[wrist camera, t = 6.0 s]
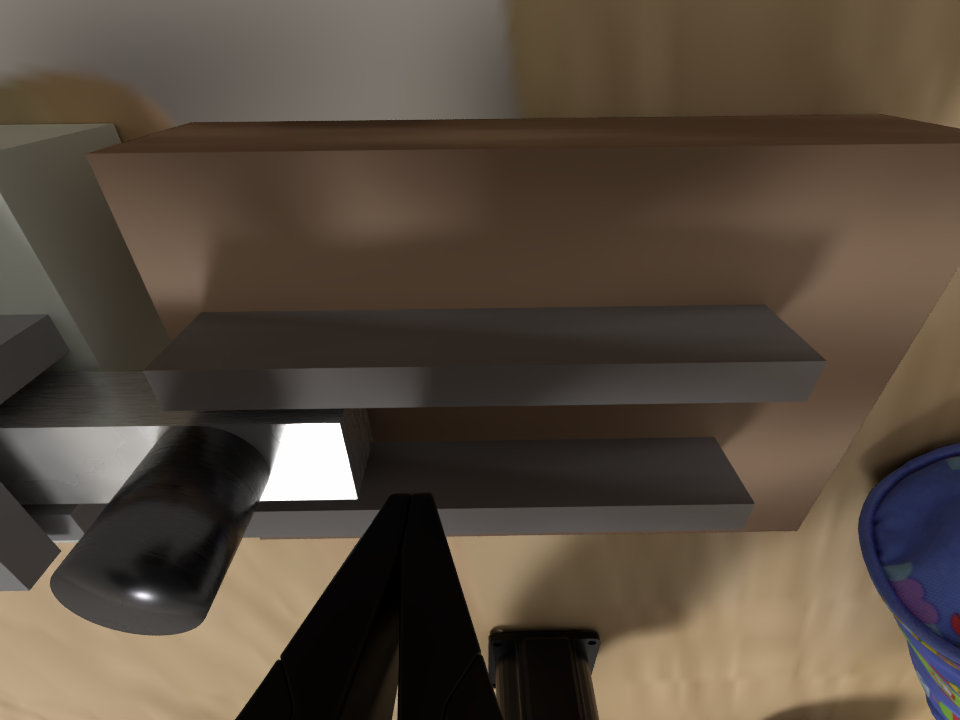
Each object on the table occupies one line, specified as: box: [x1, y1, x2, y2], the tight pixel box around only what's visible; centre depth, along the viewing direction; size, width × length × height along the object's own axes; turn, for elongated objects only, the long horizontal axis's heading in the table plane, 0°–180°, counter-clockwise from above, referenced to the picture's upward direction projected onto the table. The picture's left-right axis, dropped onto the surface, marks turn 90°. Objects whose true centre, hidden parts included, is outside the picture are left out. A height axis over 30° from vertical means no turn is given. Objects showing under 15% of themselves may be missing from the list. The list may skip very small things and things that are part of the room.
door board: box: [85, 115, 960, 539], centre depth 13 cm, size 12×18×6 cm, turn 90°
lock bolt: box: [0, 370, 373, 636], centre depth 10 cm, size 12×2×5 cm, turn 91°
